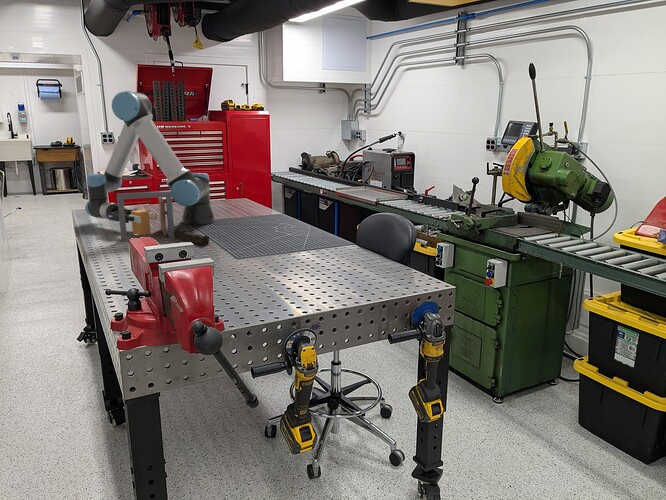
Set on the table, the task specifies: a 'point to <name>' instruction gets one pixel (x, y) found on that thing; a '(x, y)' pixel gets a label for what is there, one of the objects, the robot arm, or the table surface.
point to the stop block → (145, 222)
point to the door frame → (145, 195)
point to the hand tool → (190, 237)
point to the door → (162, 215)
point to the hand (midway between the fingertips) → (148, 218)
